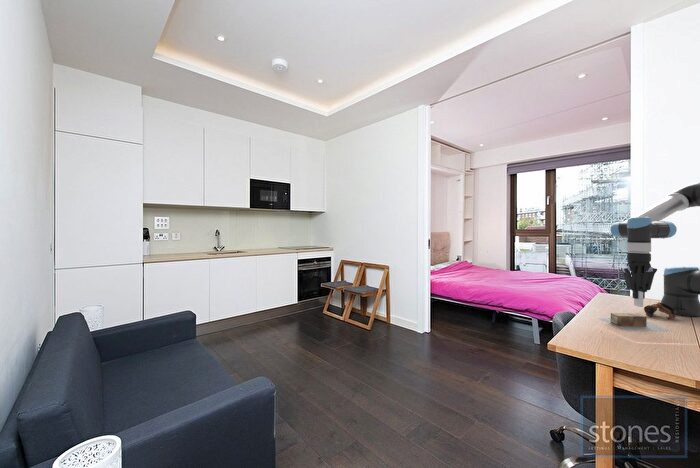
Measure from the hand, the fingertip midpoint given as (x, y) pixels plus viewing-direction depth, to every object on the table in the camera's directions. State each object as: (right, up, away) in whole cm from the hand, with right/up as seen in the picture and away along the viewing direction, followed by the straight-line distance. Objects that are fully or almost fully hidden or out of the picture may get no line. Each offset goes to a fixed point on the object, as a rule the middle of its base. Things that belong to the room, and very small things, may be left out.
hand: (638, 306), depth 129 cm
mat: (-1, -9, +1) cm, 9 cm away
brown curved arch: (+21, -9, +12) cm, 26 cm away
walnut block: (+2, -6, 0) cm, 6 cm away
